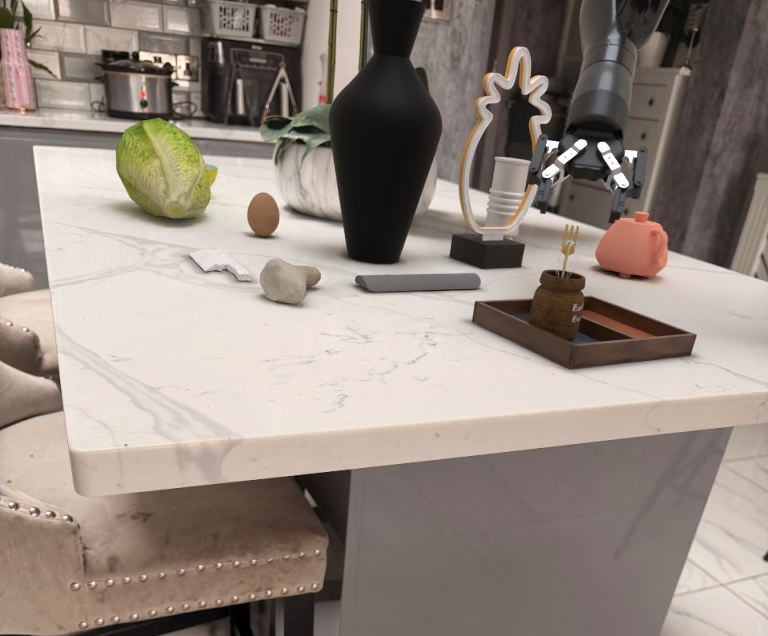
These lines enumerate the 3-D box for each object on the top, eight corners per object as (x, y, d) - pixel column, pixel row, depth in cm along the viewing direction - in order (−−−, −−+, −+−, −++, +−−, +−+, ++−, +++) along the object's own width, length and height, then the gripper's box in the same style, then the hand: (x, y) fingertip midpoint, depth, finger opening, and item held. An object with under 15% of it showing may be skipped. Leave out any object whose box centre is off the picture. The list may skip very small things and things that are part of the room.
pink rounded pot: (632, 265, 142) (646, 207, 137) (683, 284, 131) (702, 222, 126) (578, 264, 138) (591, 204, 133) (627, 284, 127) (644, 219, 122)
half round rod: (351, 285, 106) (352, 271, 105) (465, 282, 115) (467, 270, 114) (366, 293, 103) (367, 279, 102) (482, 289, 112) (484, 277, 111)
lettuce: (223, 250, 134) (129, 255, 130) (203, 185, 150) (118, 187, 145) (219, 166, 123) (116, 168, 119) (198, 104, 139) (106, 104, 134)
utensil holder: (526, 337, 89) (547, 229, 83) (527, 323, 94) (547, 221, 89) (576, 344, 88) (601, 236, 82) (575, 330, 94) (598, 228, 88)
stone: (303, 308, 93) (304, 267, 90) (253, 302, 93) (253, 261, 91) (320, 287, 103) (322, 250, 100) (275, 282, 103) (275, 245, 101)
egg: (241, 235, 128) (241, 191, 125) (255, 231, 133) (256, 188, 130) (270, 240, 127) (271, 196, 124) (284, 236, 132) (285, 193, 128)
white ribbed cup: (516, 248, 146) (531, 163, 138) (480, 243, 146) (493, 158, 139) (517, 242, 151) (532, 160, 144) (482, 238, 152) (495, 155, 145)
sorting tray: (586, 314, 105) (591, 295, 104) (690, 355, 92) (697, 334, 91) (471, 321, 96) (474, 300, 94) (570, 369, 83) (575, 345, 81)
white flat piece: (213, 281, 100) (213, 272, 99) (189, 255, 111) (189, 248, 111) (251, 280, 102) (251, 272, 101) (223, 255, 113) (223, 248, 113)
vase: (386, 245, 134) (409, 9, 117) (446, 268, 122) (482, 9, 105) (301, 247, 125) (313, -9, 108) (357, 272, 113) (380, -11, 96)
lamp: (503, 254, 138) (538, 52, 123) (537, 266, 132) (579, 54, 117) (431, 257, 129) (459, 39, 114) (464, 269, 123) (498, 40, 108)
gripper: (547, 81, 97) (522, 186, 92) (662, 93, 94) (642, 202, 90) (541, 126, 104) (518, 226, 99) (648, 139, 101) (629, 242, 97)
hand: (577, 214), depth 95 cm, fingers open, 8 cm apart
